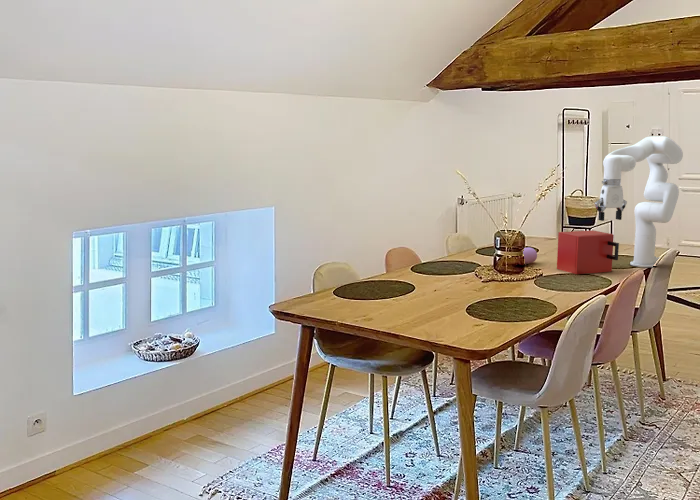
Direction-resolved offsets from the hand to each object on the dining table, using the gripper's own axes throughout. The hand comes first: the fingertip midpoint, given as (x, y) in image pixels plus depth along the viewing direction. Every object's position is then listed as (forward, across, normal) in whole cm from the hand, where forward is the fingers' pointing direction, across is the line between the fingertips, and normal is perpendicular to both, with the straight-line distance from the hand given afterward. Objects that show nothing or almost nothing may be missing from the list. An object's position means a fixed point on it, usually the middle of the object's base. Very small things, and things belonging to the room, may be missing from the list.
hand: (609, 220), depth 329 cm
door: (+25, -5, +1) cm, 26 cm away
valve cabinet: (+25, -4, +12) cm, 28 cm away
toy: (+26, -23, +34) cm, 48 cm away
